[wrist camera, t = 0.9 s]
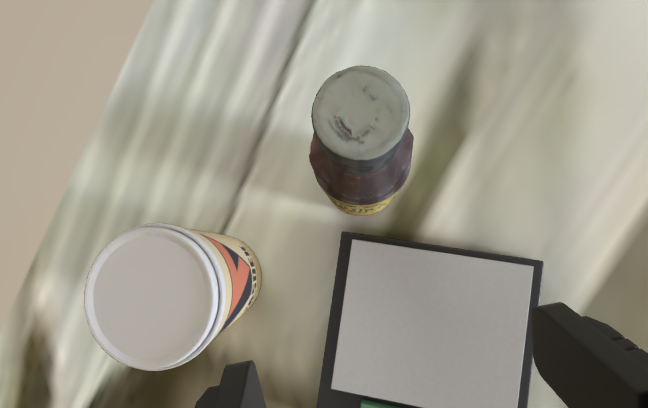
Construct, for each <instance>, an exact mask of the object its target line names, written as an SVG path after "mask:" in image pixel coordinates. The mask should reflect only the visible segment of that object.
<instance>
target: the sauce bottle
mask: <svg viewBox="0 0 648 408" xmlns="http://www.w3.org/2000/svg"><path fill="white" fill-rule="evenodd" d="M311 117H312V124H313V128H314V134H313V140H312V143H311V152H310V155H309V159H310V163H311V165H312V167H313V170H314V173H315V176H316V179H317V181H318V183H319V185H320V186H321V188H322V189H323V190H324V192H325V193H326V194H327V196H328V197H329V199H330V200H331V201H332V202H333V203H334V204H335V205H336V206H337V207H338V208H339V209H340V210H342V211H344V212H346V213H348V214H351V215H357V216H365V215H371V214H374V213H377V212H379V211H380V210H382V209H384V208H385V207H386V206H387V205H388V204H389V203H390V202H391V201H392V199H393V198H394V197H395V195H396V194H397V193H398V191H399V190H400V188H401V187H402V186H403V184H404V183H405V181H406V179H407V177H408V175H409V172H410V167H411V157H412V148H413V139H414V138H413V135H412V133H411V132H410V130H409V129H408V124H409V118H410V105H409V101H408V98H407V95H406V93H405V91H404V89H403V88H402V86H401V85H400V84H399V82H398V81H397V80H396V79H395V78H394V77H392V76H391V75H389V74H388V73H387V72H386V71H383V70H380V69H378V68H375V67H370V66H354V67H350V68H347V69H345V70H342V71H339V72H336V73H335V74H333V75H332V76H331V77H329V78H328V79H327V80H326V81H325V82H324V83H323V85H322V86H321V88H320V90H319V91H318V93H317V94H316V97H315V101H314V103H313V107H312V116H311Z"/></svg>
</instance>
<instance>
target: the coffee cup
mask: <svg viewBox="0 0 648 408" xmlns="http://www.w3.org/2000/svg"><path fill="white" fill-rule="evenodd" d="M260 285H261V270H260V265H259V262H258V260H257V258H256V256H255V254H254V253H253V251H252V250H251V249H250V248H249V247H248V246H247V245H246V244H245V243H243V242H242V241H240V240H238V239H236V238H233V237H230V236H226V235H221V234H215V233H210V232H204V231H198V230H192V229H186V228H182V227H178V226H175V225H170V224H164V223H152V224H145V225H140V226H137V227H134V228H131V229H129V230H127V231H125V232H123V233H122V234H120V235H119V236H117V237H116V238H115V239H114V240H112V241H111V242H110V243H109V244H108V245H107V246H106V247H105V248H104V249H103V250H102V251H101V252H100V254H99V255H98V256H97V258H96V259H95V261H94V263H93V265H92V267H91V269H90V271H89V274H88V277H87V281H86V285H85V292H84V308H85V314H86V318H87V323H88V325H89V328H90V330H91V332H92V334H93V336H94V338H95V339H96V341H97V342H98V344H99V345H100V346H101V348H102V349H103V350H104V351H105V352H106V353H107V354H109V355H110V356H111V357H112V358H114V359H115V360H117V361H118V362H120V363H122V364H125V365H127V366H130V367H133V368H138V369H142V370H149V371H160V370H167V369H171V368H174V367H177V366H180V365H182V364H184V363H186V362H188V361H190V360H191V359H193V358H194V357H196V356H197V355H198V354H199V353H200V352H201V351H202V350H203V349H204V348H205V347H206V346H207V345H208V344H209V343H210V342H211V341H212V340H213V339H215V338H216V337H217V336H218V335H219V334H221V333H222V332H223V331H224V330H225V329H226V328H228V327H229V326H230V325H231V324H232V323H233V322H235V321H236V320H237V319H238V318H239V317H240V316H241V315H243V314H244V313H245V312H246V311H247V310H248V309H249V308H250V307H251V305H252V304H253V303H254V301H255V299H256V298H257V295H258V293H259V290H260Z"/></svg>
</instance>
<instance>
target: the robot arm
mask: <svg viewBox="0 0 648 408" xmlns="http://www.w3.org/2000/svg"><path fill="white" fill-rule="evenodd" d="M531 330H532V346H533V357H534V361H535V364H536V367H537V369H538V371H539V373H540V375H541V376H542V378H543V379H544V380H545V381H546V382H547V384H548V385H549V386H550V387H551V388H552V389H553V390H554V392H555V393H556V394H557V395H558V396H559V397H560V398H561V399H562V401H563V402H564V403H565V404H566V405H567V406H568V407H569V408H648V353H647V352H645V351H644V350H642V349H639V348H638V346H637V345H635V344H634V343H633V342H631V341H630V340H628V339H625V338H624V336H623V335H621V334H620V333H619V332H617V331H616V330H614V329H613V328H612V327H610V326H609V325H607V324H605V323H602V322H600V321H597V320H595V319H592V318H590V317H587V316H585V317H581V316H580V315H578V314H577V313H576V312H574V311H573V310H572V309H570V308H569V307H568V306H566V305H565V304H564V303H561V302H558V303H553V304H548V305H542V306H537V307H533V308H532V310H531ZM195 408H266V406H265V402H264V398H263V394H262V390H261V386H260V382H259V378H258V374H257V370H256V367H255V364H254V362H253V361H252V360H250V361H245V362H240V363H235V364H230V365H226V366H225V368H224V372H223V375H222V378H221V382H220V385H219V386H214V387H209V388H208V389H207V390H206V392H205V393H204V394H203V395H202V396H201V398H200V399H199V400H198V401H197V402H196V405H195Z"/></svg>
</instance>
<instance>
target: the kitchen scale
mask: <svg viewBox="0 0 648 408" xmlns="http://www.w3.org/2000/svg"><path fill="white" fill-rule="evenodd" d="M543 265H544V262H543V261H539V260H532V259H526V258H519V257H512V256H505V255H499V254H492V253H485V252H478V251H472V250H465V249H458V248H451V247H444V246H438V245H431V244H424V243H417V242H411V241H404V240H397V239H390V238H384V237H377V236H370V235H363V234H357V233H350V232H342V234H341V241H340V248H339V255H338V262H337V269H336V276H335V283H334V290H333V297H332V304H331V311H330V318H329V325H328V332H327V339H326V345H325V352H324V359H323V366H322V373H321V380H320V387H319V394H318V401H317V408H527V404H528V395H529V387H530V378H531V369H532V361H533V346H532V330H531V310H532V308H533V307H537V306H539V300H540V291H541V282H542V274H543Z"/></svg>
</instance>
